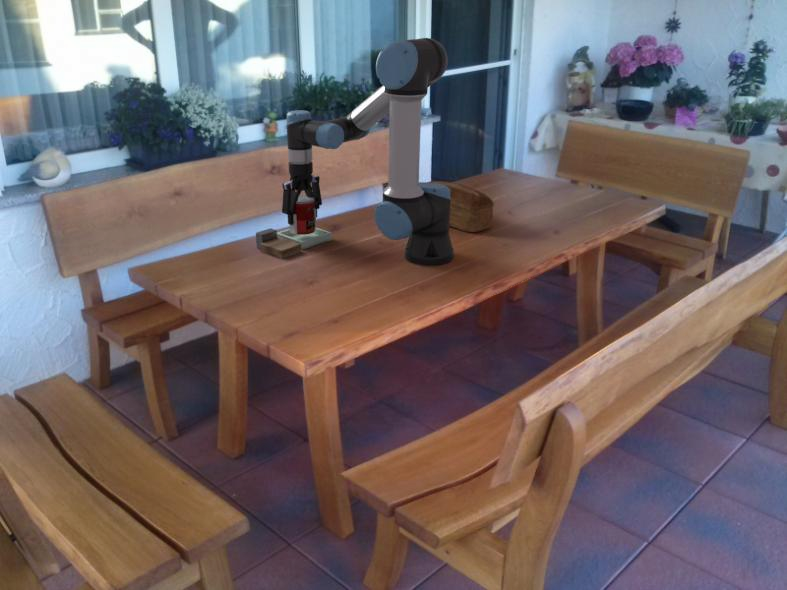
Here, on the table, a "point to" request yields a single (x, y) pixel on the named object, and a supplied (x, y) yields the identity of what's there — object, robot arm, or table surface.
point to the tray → (307, 237)
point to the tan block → (280, 247)
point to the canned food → (305, 215)
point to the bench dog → (265, 236)
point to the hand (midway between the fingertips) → (303, 230)
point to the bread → (468, 208)
